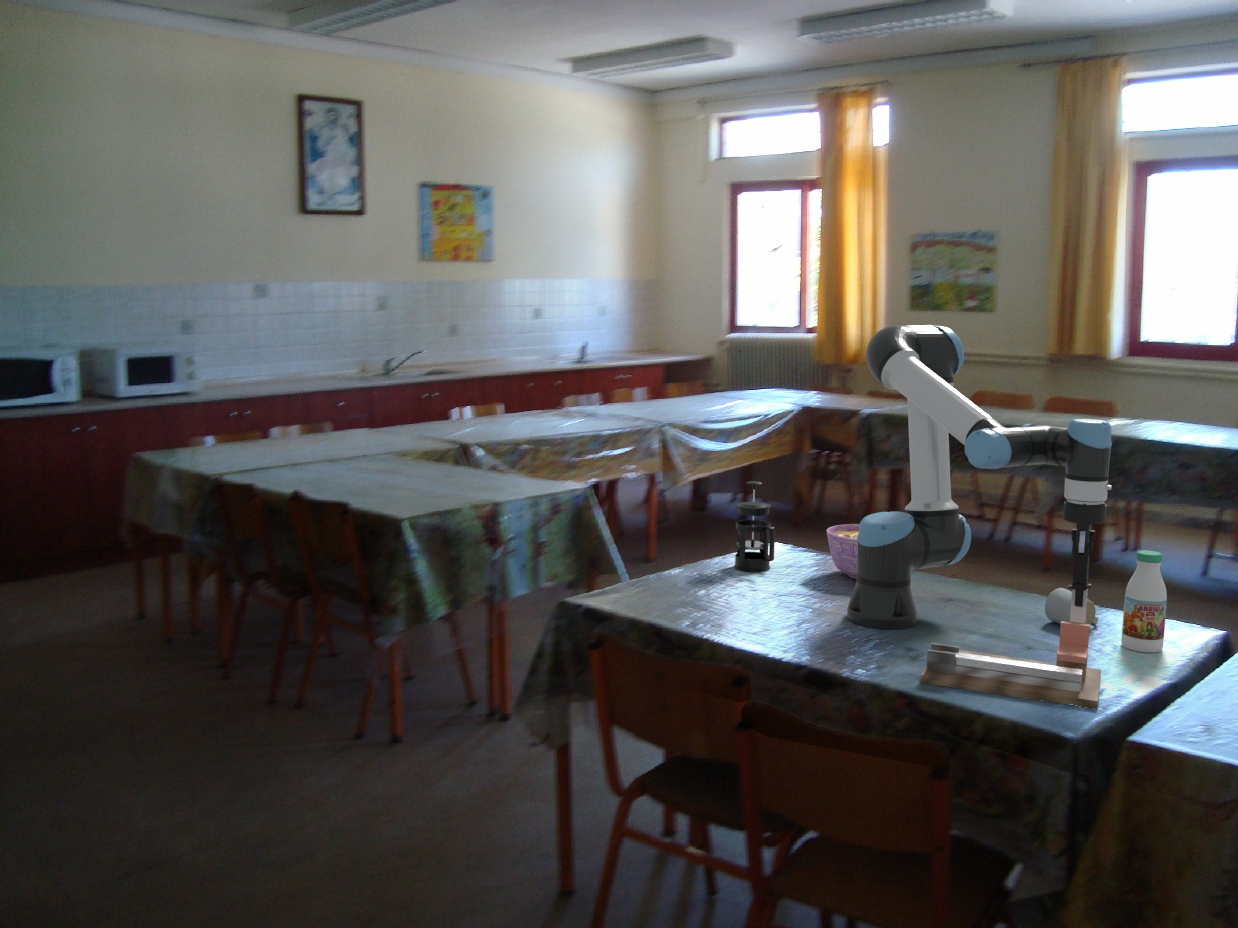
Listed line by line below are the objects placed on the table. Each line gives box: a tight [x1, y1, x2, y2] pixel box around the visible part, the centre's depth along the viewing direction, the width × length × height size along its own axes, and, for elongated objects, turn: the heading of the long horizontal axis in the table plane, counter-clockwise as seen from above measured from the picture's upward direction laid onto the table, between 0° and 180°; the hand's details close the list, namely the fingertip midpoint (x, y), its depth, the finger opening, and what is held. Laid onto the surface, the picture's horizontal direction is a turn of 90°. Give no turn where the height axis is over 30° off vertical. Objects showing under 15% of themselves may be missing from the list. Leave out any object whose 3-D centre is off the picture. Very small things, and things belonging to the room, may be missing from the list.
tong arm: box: [944, 650, 1082, 683], centre depth 198 cm, size 24×3×2 cm, turn 65°
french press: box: [733, 480, 776, 573], centre depth 283 cm, size 12×9×23 cm
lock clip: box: [1056, 621, 1091, 664], centre depth 201 cm, size 5×8×5 cm, turn 155°
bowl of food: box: [826, 523, 860, 580], centre depth 277 cm, size 20×20×12 cm
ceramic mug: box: [1044, 587, 1099, 626], centre depth 236 cm, size 11×8×8 cm
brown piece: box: [920, 642, 1102, 710], centre depth 202 cm, size 30×18×6 cm, turn 65°
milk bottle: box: [1120, 549, 1168, 654], centre depth 220 cm, size 8×8×20 cm
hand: (1077, 621), depth 209 cm, fingers closed
